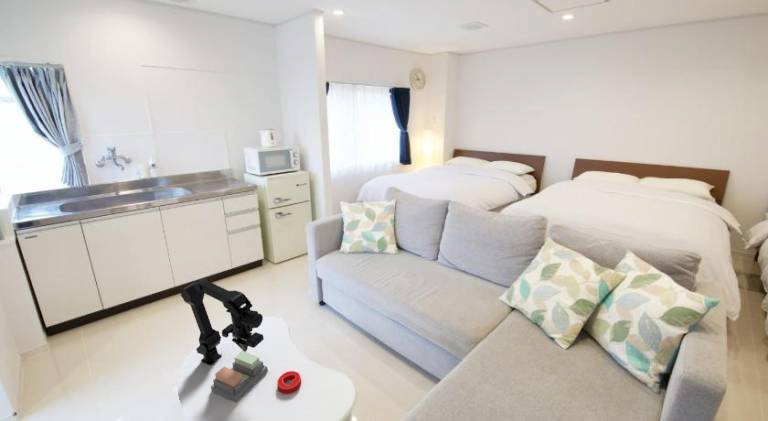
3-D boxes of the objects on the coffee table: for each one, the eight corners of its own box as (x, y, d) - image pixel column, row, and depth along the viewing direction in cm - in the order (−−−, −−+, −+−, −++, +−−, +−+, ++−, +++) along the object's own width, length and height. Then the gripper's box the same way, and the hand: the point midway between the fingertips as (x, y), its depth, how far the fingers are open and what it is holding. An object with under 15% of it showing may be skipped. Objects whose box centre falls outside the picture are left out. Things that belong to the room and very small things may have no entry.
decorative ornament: (279, 378, 147) (278, 372, 146) (301, 374, 149) (301, 368, 148) (277, 396, 138) (276, 390, 137) (300, 392, 140) (300, 386, 139)
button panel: (211, 391, 141) (209, 381, 139) (244, 361, 156) (242, 352, 154) (236, 402, 135) (233, 392, 133) (267, 371, 151) (266, 361, 149)
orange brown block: (216, 381, 140) (215, 373, 139) (225, 373, 144) (223, 366, 142) (234, 389, 136) (232, 381, 135) (242, 381, 140) (241, 373, 138)
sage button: (235, 364, 148) (234, 357, 147) (243, 357, 152) (242, 350, 151) (252, 371, 145) (251, 364, 143) (260, 364, 148) (258, 357, 147)
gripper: (270, 315, 144) (274, 345, 149) (238, 305, 151) (243, 333, 157) (250, 331, 134) (256, 362, 140) (217, 319, 142) (224, 349, 147)
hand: (245, 351), depth 146 cm, fingers closed
